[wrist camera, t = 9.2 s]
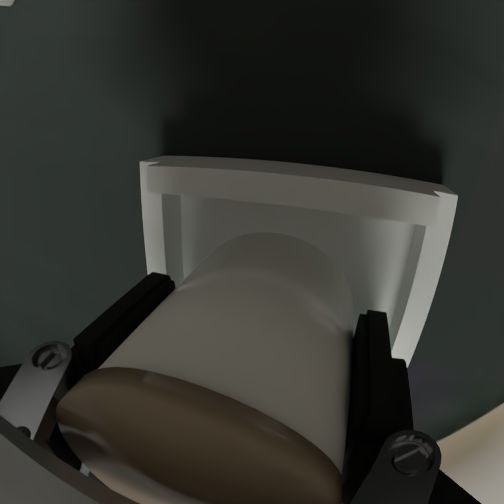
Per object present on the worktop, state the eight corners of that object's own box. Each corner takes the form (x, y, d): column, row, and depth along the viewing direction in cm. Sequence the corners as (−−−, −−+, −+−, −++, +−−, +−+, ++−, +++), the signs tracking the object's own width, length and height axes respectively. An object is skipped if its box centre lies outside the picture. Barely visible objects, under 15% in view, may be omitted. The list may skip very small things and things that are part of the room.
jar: (373, 243, 9) (392, 464, 3) (338, 384, 11) (306, 559, 5) (189, 218, 10) (15, 344, 4) (196, 355, 13) (103, 494, 7)
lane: (442, 184, 11) (506, 233, 6) (339, 478, 20) (327, 543, 15) (164, 155, 14) (69, 182, 9) (193, 447, 23) (162, 503, 17)
